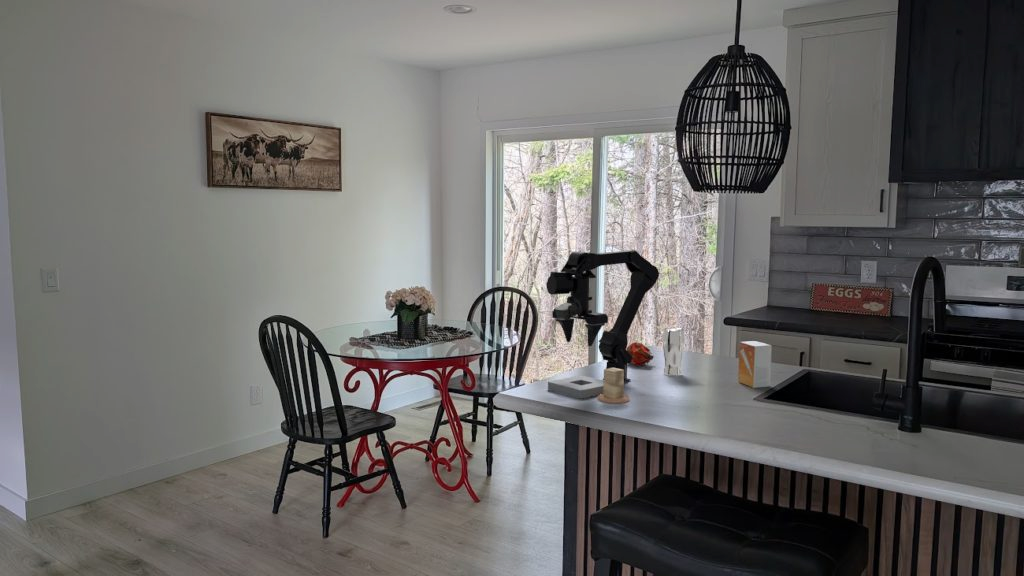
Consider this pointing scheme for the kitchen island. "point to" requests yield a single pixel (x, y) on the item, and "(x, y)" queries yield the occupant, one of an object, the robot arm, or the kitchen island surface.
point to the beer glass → (673, 350)
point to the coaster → (620, 400)
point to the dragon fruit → (639, 354)
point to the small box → (754, 364)
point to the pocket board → (577, 386)
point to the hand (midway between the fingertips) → (579, 343)
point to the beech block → (613, 383)
